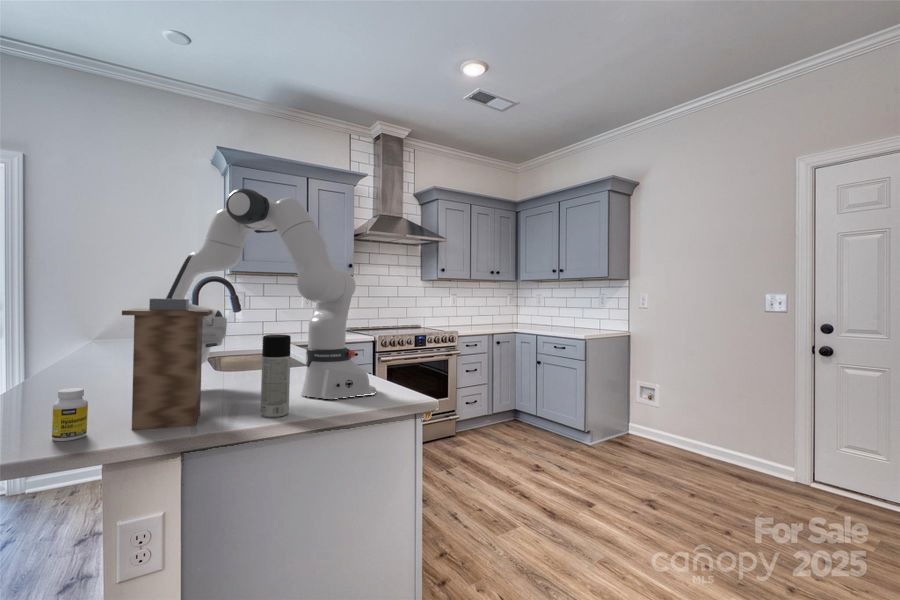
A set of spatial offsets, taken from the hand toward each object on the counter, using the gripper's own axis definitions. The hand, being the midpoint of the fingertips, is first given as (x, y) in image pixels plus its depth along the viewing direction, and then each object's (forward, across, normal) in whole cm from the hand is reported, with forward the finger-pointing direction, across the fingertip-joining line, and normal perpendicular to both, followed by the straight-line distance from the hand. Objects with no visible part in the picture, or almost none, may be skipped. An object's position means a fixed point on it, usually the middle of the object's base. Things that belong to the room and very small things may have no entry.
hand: (183, 314), depth 116 cm
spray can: (+2, +23, +30) cm, 38 cm away
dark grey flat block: (+10, 0, +4) cm, 11 cm away
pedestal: (+2, 0, +29) cm, 29 cm away
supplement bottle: (+8, -16, +33) cm, 37 cm away
